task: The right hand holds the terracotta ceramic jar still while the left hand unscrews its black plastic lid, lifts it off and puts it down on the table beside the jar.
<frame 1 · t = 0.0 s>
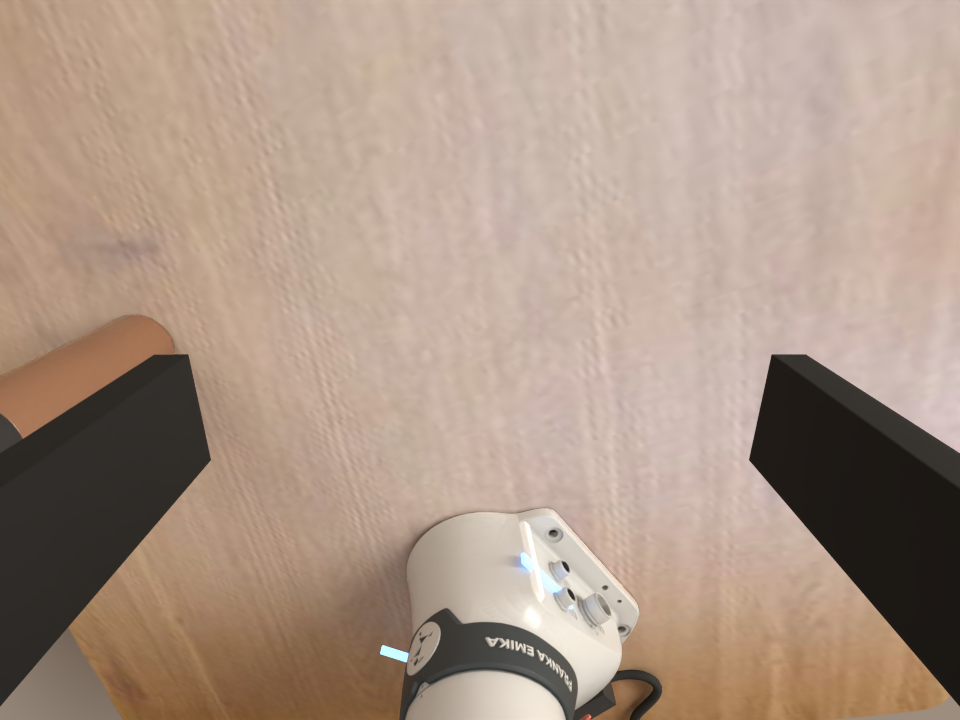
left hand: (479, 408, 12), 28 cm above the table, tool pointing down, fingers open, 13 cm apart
jar: (142, 345, 42), on the table
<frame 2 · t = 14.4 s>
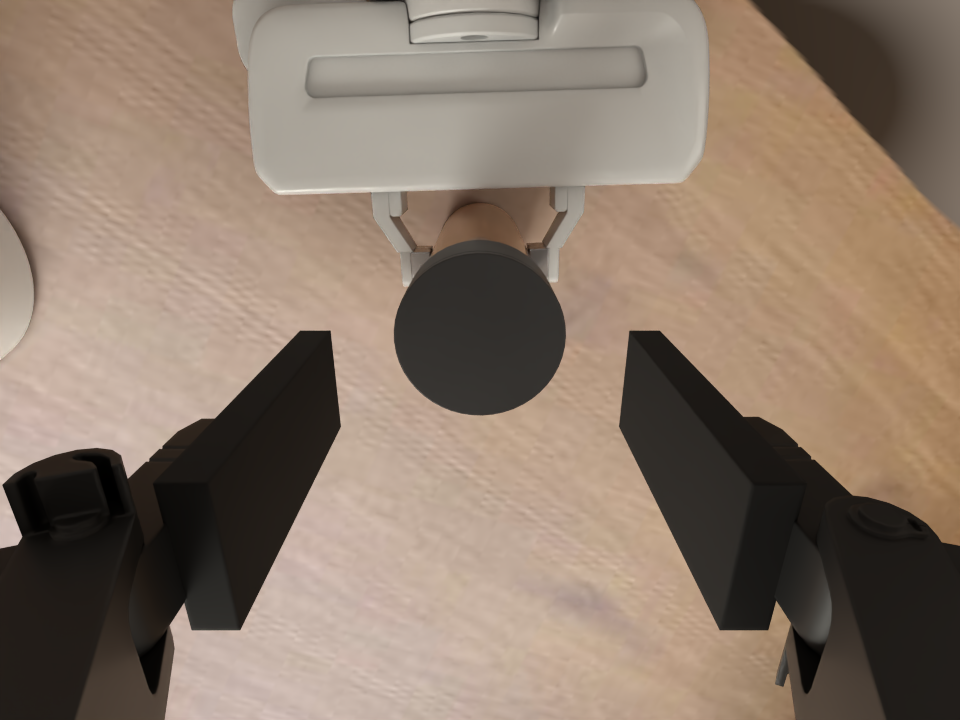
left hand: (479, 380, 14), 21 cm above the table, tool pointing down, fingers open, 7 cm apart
right hand: (481, 282, 28), fingers closed on jar, 5 cm apart
jar: (480, 244, 33), on the table, touching right hand
lid: (479, 335, 17), point 17 cm above the table, screwed on, not yet turned
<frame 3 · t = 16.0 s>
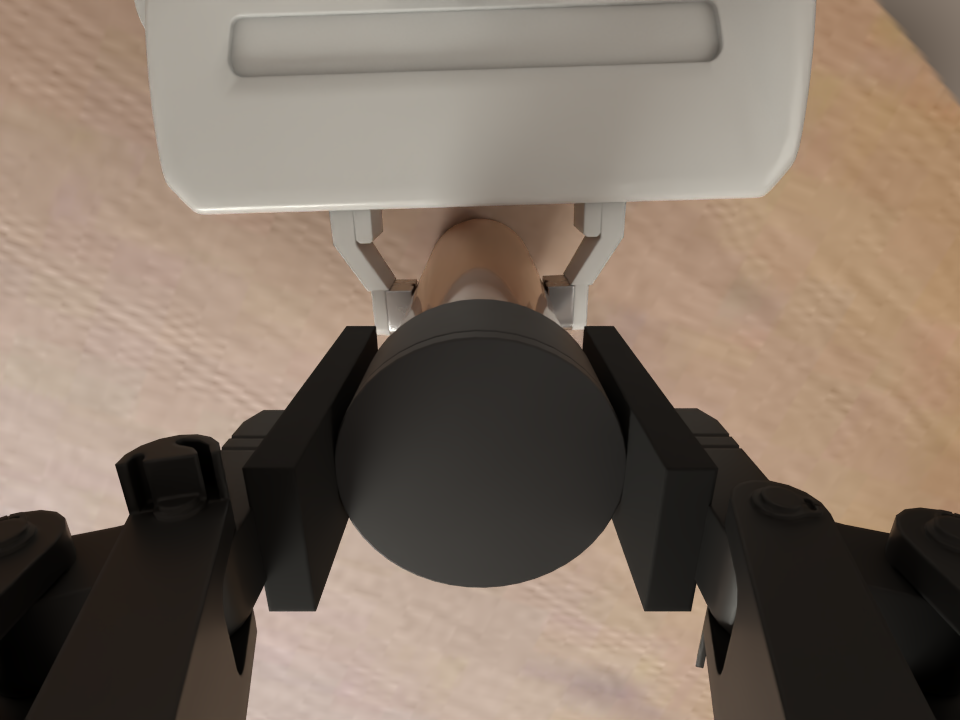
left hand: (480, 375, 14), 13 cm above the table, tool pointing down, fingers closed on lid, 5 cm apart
right hand: (482, 328, 21), fingers closed on jar, 5 cm apart
jar: (480, 270, 26), on the table, touching right hand
lid: (480, 465, 10), point 17 cm above the table, screwed on, not yet turned, touching left hand
when the left hand's fingers open (13 cm above the table, at t = 17.2 s): lid stays where it is, point 17 cm above the table.
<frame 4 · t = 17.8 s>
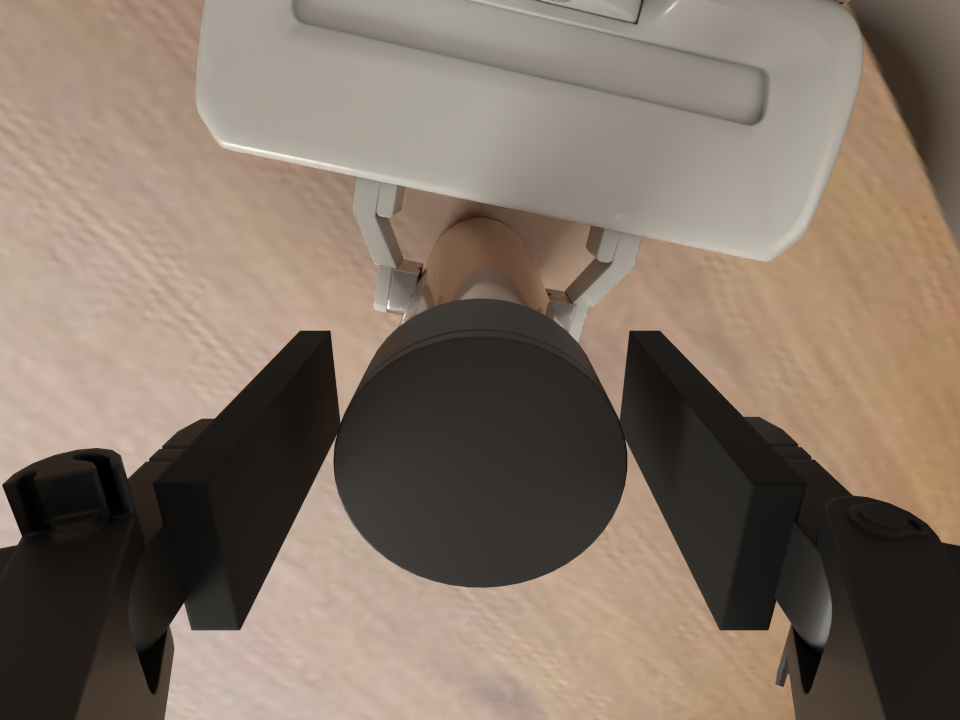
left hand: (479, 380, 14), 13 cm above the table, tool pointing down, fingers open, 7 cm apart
right hand: (476, 325, 21), fingers closed on jar, 5 cm apart
jar: (480, 269, 26), on the table, touching right hand
lid: (480, 464, 10), point 17 cm above the table, turned 81° so far, risen 0.2 cm, still on its thread
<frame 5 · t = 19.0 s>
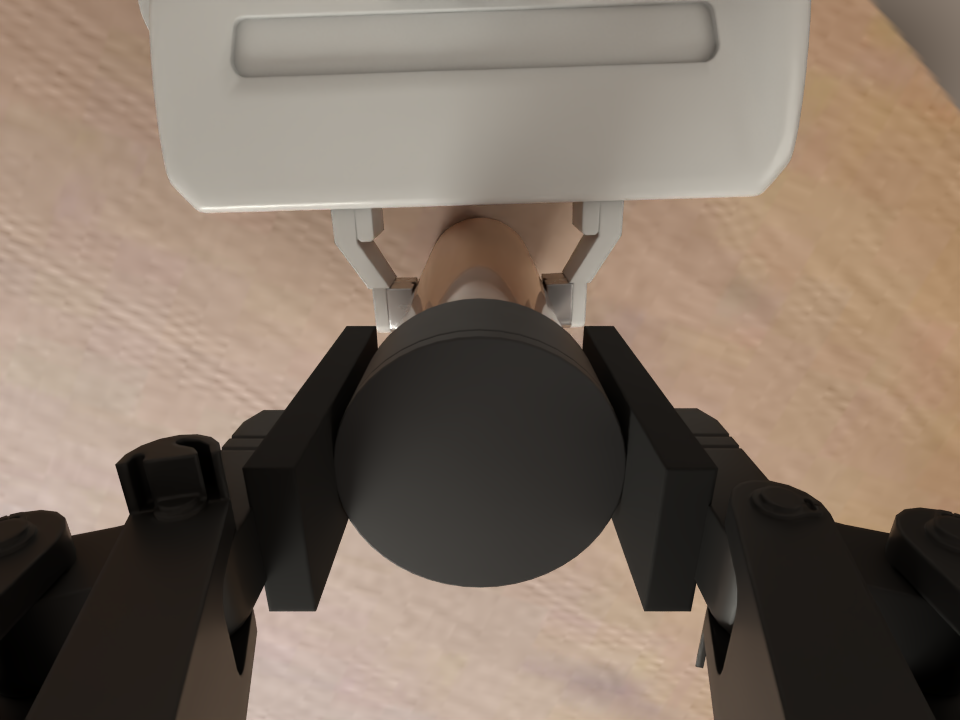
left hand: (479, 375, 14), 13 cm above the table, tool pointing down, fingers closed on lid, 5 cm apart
right hand: (481, 326, 21), fingers closed on jar, 5 cm apart
jar: (480, 269, 26), on the table, touching right hand
lid: (479, 464, 10), point 17 cm above the table, turned 81° so far, risen 0.2 cm, still on its thread, touching left hand
when the left hand's fingers open (0 cm above the table, at t = 24.6 s): lid drops 2 cm, point 2 cm above the table.
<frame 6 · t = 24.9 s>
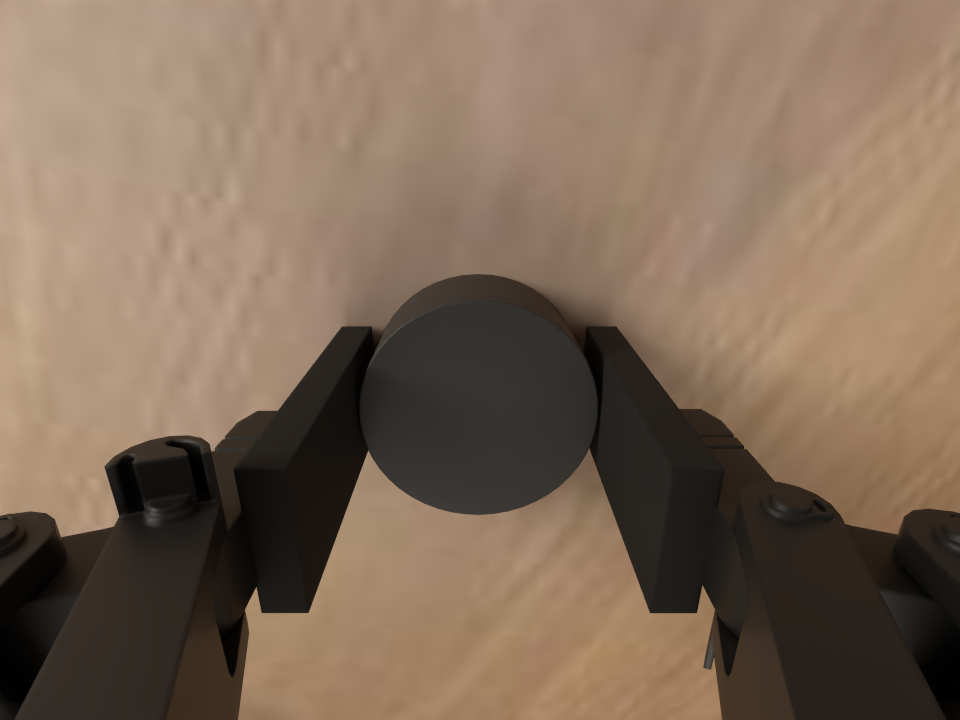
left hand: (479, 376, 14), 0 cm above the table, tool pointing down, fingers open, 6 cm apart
lid: (478, 409, 12), point 2 cm above the table, off its thread
when the right hand's fingers open (6 cm above the table, at t = 26.4 s): jar stays where it is, on the table.
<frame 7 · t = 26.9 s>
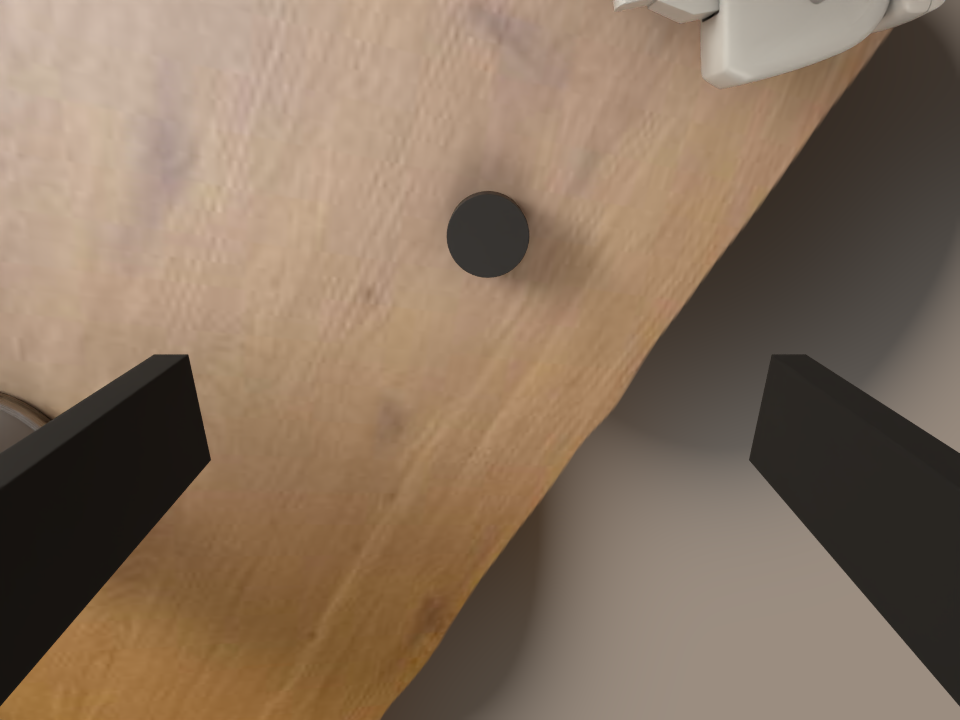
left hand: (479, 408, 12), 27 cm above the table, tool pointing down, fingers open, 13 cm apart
lid: (487, 236, 35), point 2 cm above the table, off its thread
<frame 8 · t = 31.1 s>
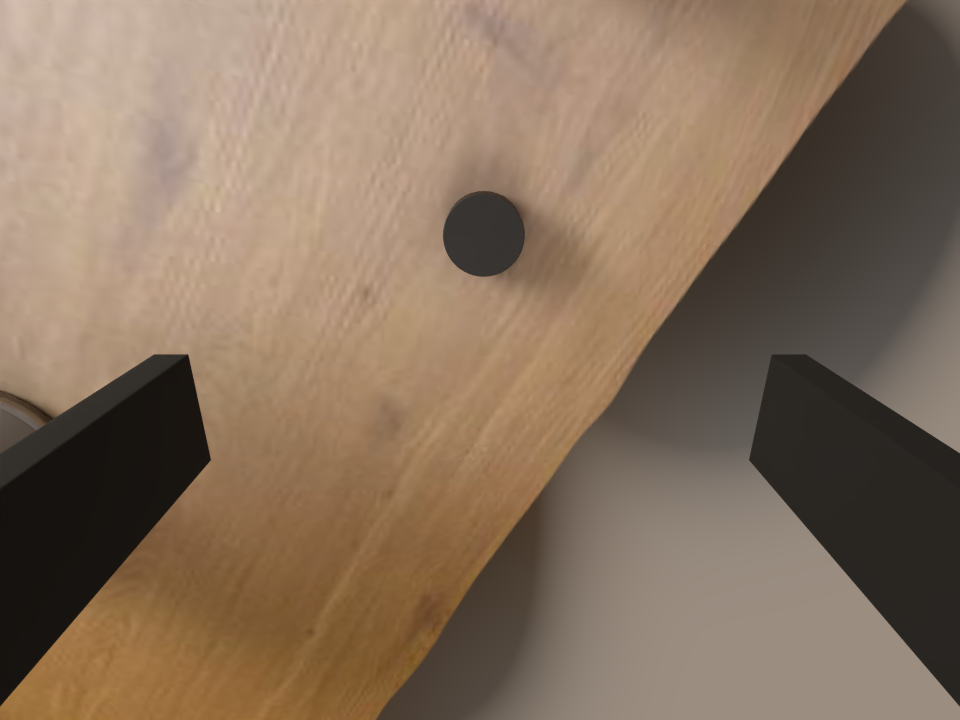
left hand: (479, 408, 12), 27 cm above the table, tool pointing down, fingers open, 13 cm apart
lid: (483, 235, 36), point 2 cm above the table, off its thread
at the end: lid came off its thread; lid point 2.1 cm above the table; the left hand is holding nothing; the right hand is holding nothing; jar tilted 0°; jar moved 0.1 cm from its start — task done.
